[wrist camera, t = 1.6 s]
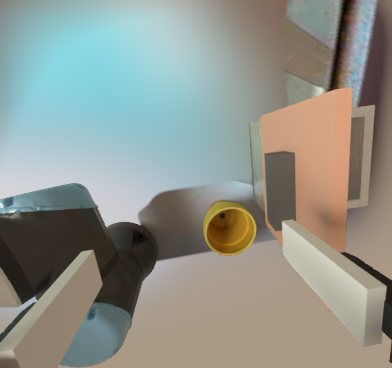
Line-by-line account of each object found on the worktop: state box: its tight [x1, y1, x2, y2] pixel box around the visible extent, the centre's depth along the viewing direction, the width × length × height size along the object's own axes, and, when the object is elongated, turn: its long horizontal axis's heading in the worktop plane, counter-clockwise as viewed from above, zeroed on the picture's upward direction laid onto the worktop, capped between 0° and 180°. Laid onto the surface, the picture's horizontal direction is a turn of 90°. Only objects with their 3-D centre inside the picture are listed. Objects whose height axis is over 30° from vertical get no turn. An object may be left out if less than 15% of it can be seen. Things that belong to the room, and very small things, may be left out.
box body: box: [249, 105, 375, 211], centre depth 41 cm, size 18×18×11 cm
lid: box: [260, 87, 353, 310], centre depth 26 cm, size 19×19×4 cm
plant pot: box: [203, 201, 257, 256], centre depth 43 cm, size 10×10×10 cm
